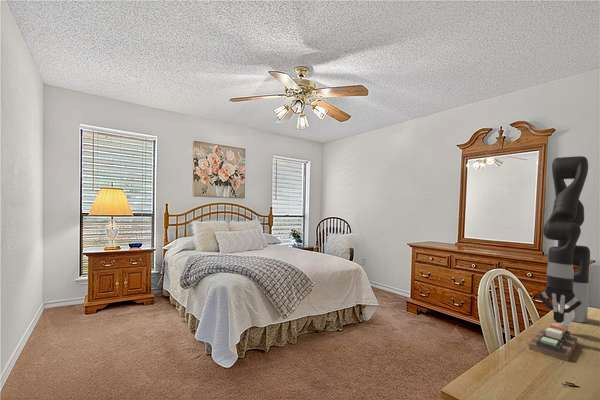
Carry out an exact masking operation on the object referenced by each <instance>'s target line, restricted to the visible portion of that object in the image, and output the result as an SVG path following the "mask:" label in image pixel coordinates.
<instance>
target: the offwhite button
mask: <svg viewBox="0 0 600 400" xmlns="http://www.w3.org/2000/svg"><path fill="white" fill-rule="evenodd" d="M549 327H550V326H549ZM549 327H547V328H545V330H546V336H549V337H552V338H556V339H560V340H561V338H562V337H563V331H560V330H556V329H553V328H549Z"/></svg>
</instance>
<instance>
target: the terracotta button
mask: <svg viewBox="0 0 600 400" xmlns="http://www.w3.org/2000/svg"><path fill="white" fill-rule="evenodd" d="M549 327H550V328H553V329H556V330H560V331H563V334H565V333H566V327H567V326H565V325H561V324H559V323H557V322H552V323H551V324H550V325H549Z"/></svg>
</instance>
